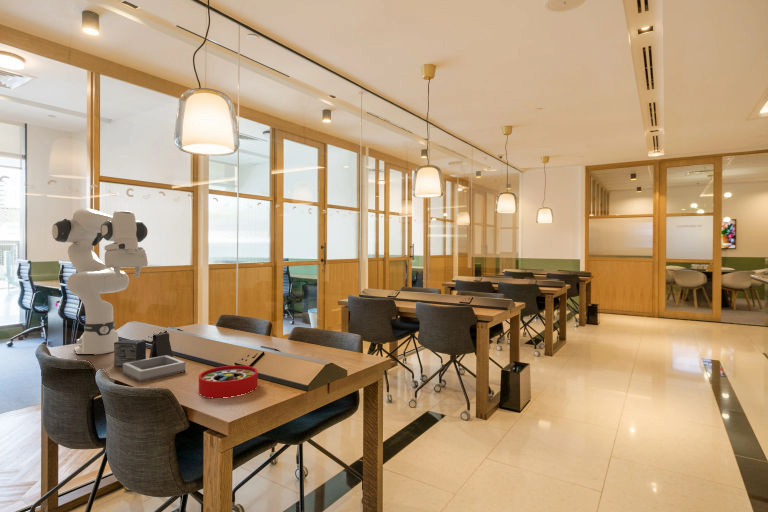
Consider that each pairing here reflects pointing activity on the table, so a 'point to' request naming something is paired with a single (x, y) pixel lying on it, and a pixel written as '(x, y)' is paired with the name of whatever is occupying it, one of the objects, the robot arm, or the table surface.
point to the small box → (129, 351)
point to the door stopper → (161, 345)
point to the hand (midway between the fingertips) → (128, 277)
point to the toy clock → (228, 381)
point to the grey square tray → (153, 368)
